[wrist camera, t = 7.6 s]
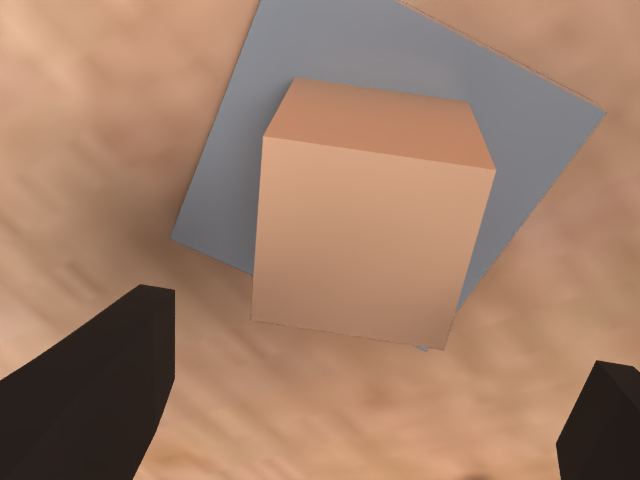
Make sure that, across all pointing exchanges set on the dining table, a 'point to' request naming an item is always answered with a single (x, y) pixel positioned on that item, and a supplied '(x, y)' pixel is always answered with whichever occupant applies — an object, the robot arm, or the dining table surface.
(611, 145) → the dining table surface
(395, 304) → the terracotta cube
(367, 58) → the plate
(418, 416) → the dining table surface
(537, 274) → the dining table surface
